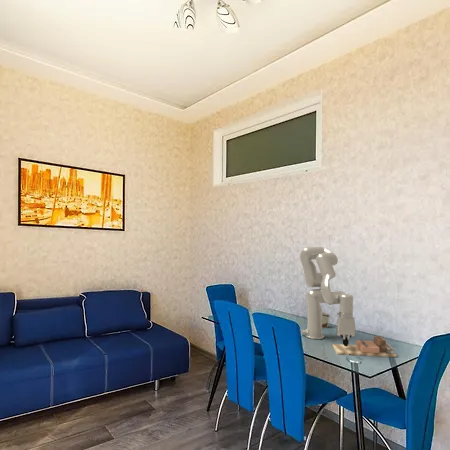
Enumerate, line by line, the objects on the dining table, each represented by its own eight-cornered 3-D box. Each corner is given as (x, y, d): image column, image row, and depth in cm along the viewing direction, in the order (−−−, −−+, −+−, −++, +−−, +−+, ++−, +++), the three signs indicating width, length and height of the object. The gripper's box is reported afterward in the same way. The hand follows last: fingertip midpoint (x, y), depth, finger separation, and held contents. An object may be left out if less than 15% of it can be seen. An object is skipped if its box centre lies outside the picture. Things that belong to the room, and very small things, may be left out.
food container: (327, 325, 256) (327, 312, 256) (329, 328, 250) (329, 314, 250) (310, 324, 257) (311, 311, 257) (312, 327, 251) (312, 313, 251)
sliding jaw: (361, 352, 198) (362, 345, 198) (355, 345, 210) (356, 338, 210) (379, 353, 198) (379, 345, 197) (372, 345, 209) (372, 339, 209)
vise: (337, 354, 199) (337, 347, 199) (332, 345, 213) (332, 339, 213) (396, 357, 196) (396, 349, 196) (387, 348, 210) (387, 341, 210)
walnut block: (378, 352, 200) (378, 340, 200) (373, 347, 208) (374, 335, 208) (385, 352, 199) (385, 340, 199) (380, 347, 207) (380, 336, 207)
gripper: (334, 316, 202) (334, 347, 202) (360, 317, 201) (360, 348, 201) (331, 312, 209) (331, 342, 210) (357, 313, 208) (356, 343, 208)
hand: (345, 345), depth 205 cm, fingers closed
